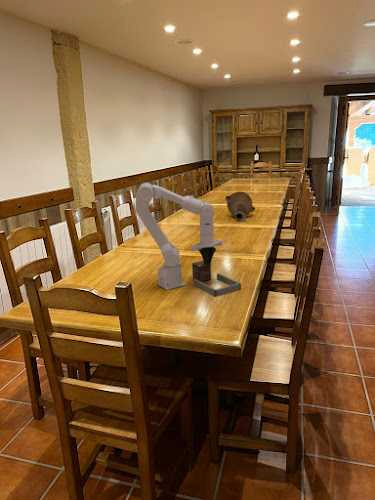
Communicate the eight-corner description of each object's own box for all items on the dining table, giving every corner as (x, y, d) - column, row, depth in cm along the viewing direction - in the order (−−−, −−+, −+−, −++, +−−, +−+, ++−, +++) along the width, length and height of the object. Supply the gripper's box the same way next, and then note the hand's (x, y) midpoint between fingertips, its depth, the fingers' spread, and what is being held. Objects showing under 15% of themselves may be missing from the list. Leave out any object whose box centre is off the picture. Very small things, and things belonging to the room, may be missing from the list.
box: (203, 275, 168) (203, 260, 166) (211, 279, 163) (211, 263, 161) (192, 278, 165) (191, 262, 163) (199, 282, 160) (199, 266, 158)
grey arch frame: (215, 296, 145) (215, 290, 144) (194, 285, 158) (193, 279, 157) (240, 289, 151) (240, 283, 150) (218, 278, 164) (218, 273, 163)
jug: (231, 214, 303) (228, 228, 277) (225, 191, 296) (222, 204, 269) (256, 209, 298) (255, 223, 271) (251, 185, 290) (250, 198, 264)
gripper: (197, 237, 147) (198, 270, 151) (226, 232, 154) (227, 263, 158) (187, 234, 153) (188, 265, 156) (216, 229, 160) (217, 259, 164)
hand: (207, 264), depth 157 cm, fingers closed
